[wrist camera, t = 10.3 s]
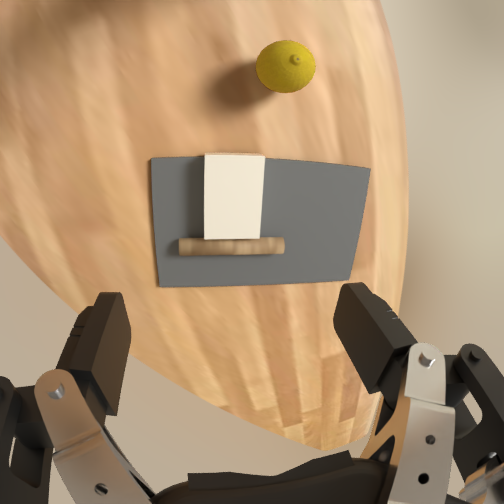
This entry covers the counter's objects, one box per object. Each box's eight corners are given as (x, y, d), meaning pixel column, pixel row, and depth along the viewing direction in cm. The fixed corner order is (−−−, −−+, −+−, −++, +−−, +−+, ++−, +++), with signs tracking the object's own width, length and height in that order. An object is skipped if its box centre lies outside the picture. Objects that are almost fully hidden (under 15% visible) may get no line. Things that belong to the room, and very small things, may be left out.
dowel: (179, 235, 32) (178, 242, 30) (281, 234, 34) (285, 241, 32) (180, 251, 33) (179, 258, 31) (279, 249, 35) (283, 256, 33)
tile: (204, 230, 32) (204, 152, 28) (255, 230, 33) (260, 153, 29) (204, 239, 30) (204, 154, 26) (259, 238, 31) (265, 156, 27)
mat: (152, 157, 28) (151, 158, 28) (368, 168, 33) (370, 168, 32) (160, 284, 35) (159, 287, 35) (347, 278, 39) (348, 280, 39)
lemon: (257, 100, 27) (274, 93, 20) (244, 56, 25) (257, 35, 18) (304, 91, 28) (334, 84, 20) (292, 48, 25) (318, 29, 18)
